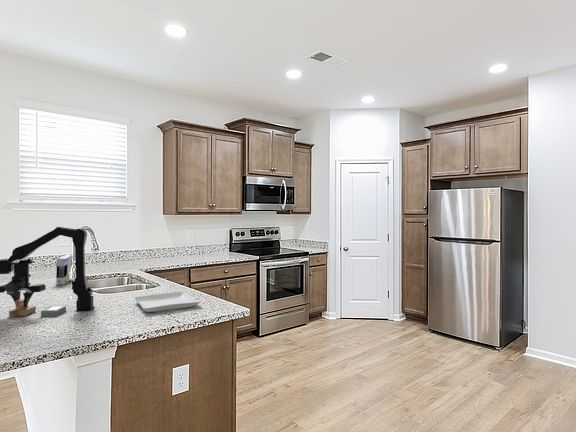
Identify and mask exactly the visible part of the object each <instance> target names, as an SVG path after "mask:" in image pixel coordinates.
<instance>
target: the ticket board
mask: <svg viewBox="0 0 576 432" xmlns="http://www.w3.org/2000/svg"><path fill="white" fill-rule="evenodd" d="M65 312H67V306H66V305H63V306H62V305H61V306H60V305H58V306H53V305H51V306H48V307H46V308H44V309H42V310H41V311H40V317H58V316H60V315H62V314H64V313H65Z"/></svg>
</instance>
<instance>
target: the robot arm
mask: <svg viewBox="0 0 576 432" xmlns="http://www.w3.org/2000/svg"><path fill="white" fill-rule="evenodd" d="M60 236H61V237H67V238H70V239H71V240H72V243H73V247H74V253H75V254H74V257H75V258H74V259H75V260H74V261H75V263H74V264H75V278H72V280H70V281H71V282H70V283H71V289H70V290H72V292H73V294H75V295H76V297H77V298H76V301H75V303H76V305H75V306H76V307H75V308H76V309H75V312H83V311H84V312H85V311H86V312H88V311H91V310H93V309H94V308H96V307H95V306H94V295H93V292H94V289H92V288H91V287H90V286H89V283H88V278H87V276H86V260H85V259H86V256H85V254H86V252H85V251H86V250H85V248H86V247H85V245H86V242H87V238H88V231H87V230H86V229H84V228H82V227H81V228H69V227H64V226H57V227H55V228H54V229H52V230H51V231H49V232H47V233H45V234H43V235H42V236H40V237H38V238H37V239H35V240H33V241H31V242H28V243H25V244H23V245H20V246H17V247H15V248H14V249H13V250H12V252H11V255H10V257H9V258H8V259H0V275H11V273H12V272H13V275H12V276H11V280H10V281H9V282H8V283H6V284H2V285H0V293H2V294H3V293H5V292H6V295H9V296H10V297H11V298H12V300H13V302H14V304H15V305H16V301H17V300H20V299H21V293H22V292H21V291H25V292H23V293H22V294H23V299H24V307H26V306H27V305H28V306H29V303H30V300H31V299H32V296H34V293H40V292H43V291H45V290H46V289H47V288H46V284H45V283H38V284H37V283H35V284H33V285H32V283H31V282H30V277H32V276H31V274H30V264H31V265H32V264H34V263H35V261H34V260H33V259H32V258H31V257H29V256H31V255H32V254H33V253H34V252H35V251H36V250H38V249H39V248H40V247H43V246H44V245H46V244H47V243H49V242H51V241H53V240H54V239H57V238H58V237H60ZM28 257H29V258H28ZM25 258H27V259H25ZM16 261H17V262H16Z"/></svg>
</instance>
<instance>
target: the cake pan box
mask: <svg viewBox="0 0 576 432" xmlns="http://www.w3.org/2000/svg"><path fill="white" fill-rule="evenodd" d="M72 259H73V260H74V255H73V254H66V255H62V256H60V257H57V258H56V270H55V271H56V275H55V276H56V277H55V280H56V281H55V283H56V286H64V285H66V284H68V283H69V282H68V280H69V272H70V269H71V266H72Z"/></svg>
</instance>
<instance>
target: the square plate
mask: <svg viewBox="0 0 576 432" xmlns="http://www.w3.org/2000/svg"><path fill="white" fill-rule="evenodd" d="M133 300H135V301H136V302H137V303H138V304H139V305H140V307H141V308H142V310H143V311H144V312H147V313H150V312H151V313H156V312H167V311H172V310H181V309H186V308H193V307H195V306H197V305H198V304H200V301H199V300H197V298H194V297H193V296H191V295H190V294H188V293H187V292H186V291H178V292H177V291H176V292H165V293H164V292H163V293H156V294H148V295H140V296H134V297H133Z"/></svg>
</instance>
